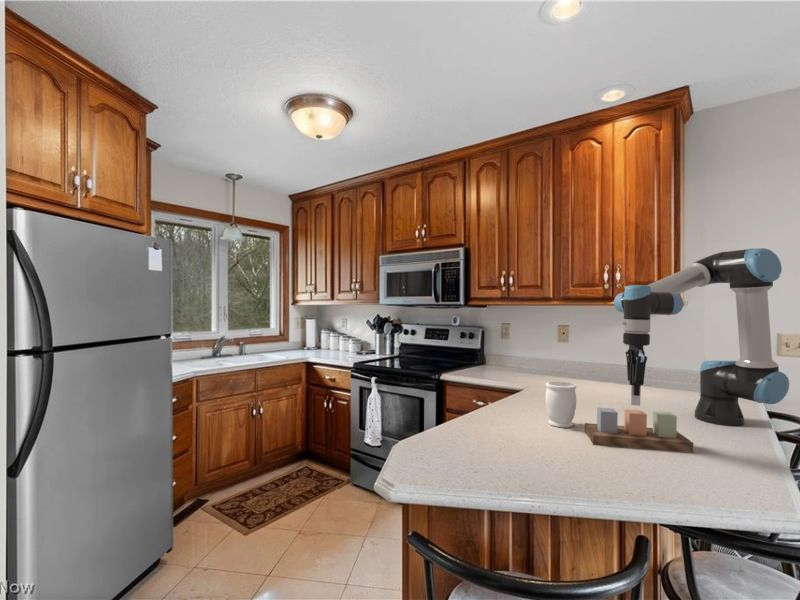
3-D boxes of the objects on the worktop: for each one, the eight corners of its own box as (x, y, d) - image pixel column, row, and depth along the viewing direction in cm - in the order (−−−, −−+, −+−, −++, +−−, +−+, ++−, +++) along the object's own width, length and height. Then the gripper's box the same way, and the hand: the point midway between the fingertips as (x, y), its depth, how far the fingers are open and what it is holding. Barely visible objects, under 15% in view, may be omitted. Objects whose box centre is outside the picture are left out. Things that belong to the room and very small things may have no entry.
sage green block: (669, 435, 134) (670, 412, 134) (676, 440, 129) (676, 416, 129) (652, 433, 135) (653, 411, 135) (658, 438, 130) (658, 415, 130)
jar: (543, 426, 149) (543, 384, 149) (547, 418, 159) (547, 380, 158) (574, 430, 144) (575, 388, 144) (577, 423, 154) (577, 383, 154)
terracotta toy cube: (640, 432, 136) (641, 410, 136) (646, 437, 131) (646, 414, 131) (624, 431, 137) (624, 409, 137) (629, 436, 132) (629, 413, 132)
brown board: (674, 438, 137) (674, 429, 137) (693, 452, 125) (693, 442, 125) (584, 431, 144) (584, 423, 144) (593, 444, 131) (593, 435, 131)
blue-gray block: (612, 430, 138) (613, 408, 138) (617, 435, 133) (617, 412, 133) (596, 429, 139) (597, 407, 139) (600, 434, 134) (600, 411, 134)
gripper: (617, 330, 141) (616, 399, 141) (630, 333, 128) (628, 409, 129) (642, 331, 140) (640, 401, 140) (657, 334, 127) (655, 411, 127)
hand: (634, 404), depth 134 cm, fingers closed
